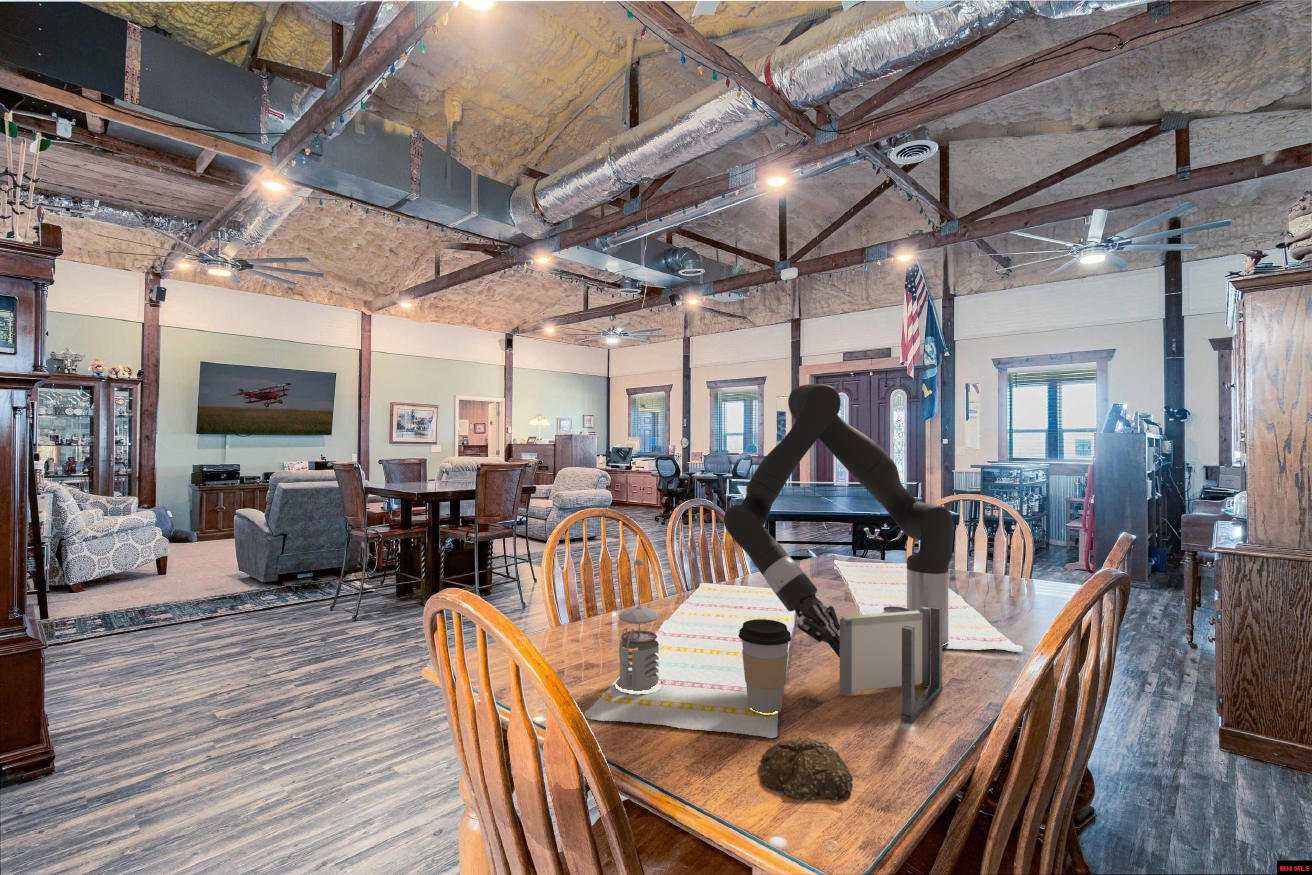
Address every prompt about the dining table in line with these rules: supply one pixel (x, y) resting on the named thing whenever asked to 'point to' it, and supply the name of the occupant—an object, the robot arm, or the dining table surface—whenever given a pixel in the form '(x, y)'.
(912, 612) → the gate
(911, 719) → the gate frame
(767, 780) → the bread roll
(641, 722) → the dining table surface
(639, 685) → the french press
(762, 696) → the coffee cup
